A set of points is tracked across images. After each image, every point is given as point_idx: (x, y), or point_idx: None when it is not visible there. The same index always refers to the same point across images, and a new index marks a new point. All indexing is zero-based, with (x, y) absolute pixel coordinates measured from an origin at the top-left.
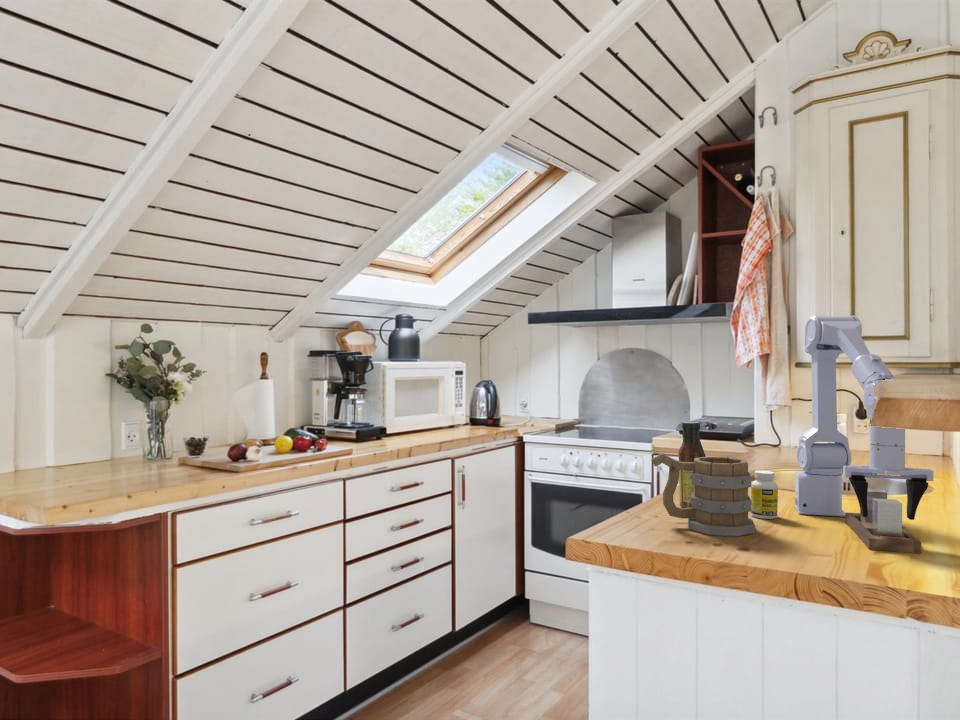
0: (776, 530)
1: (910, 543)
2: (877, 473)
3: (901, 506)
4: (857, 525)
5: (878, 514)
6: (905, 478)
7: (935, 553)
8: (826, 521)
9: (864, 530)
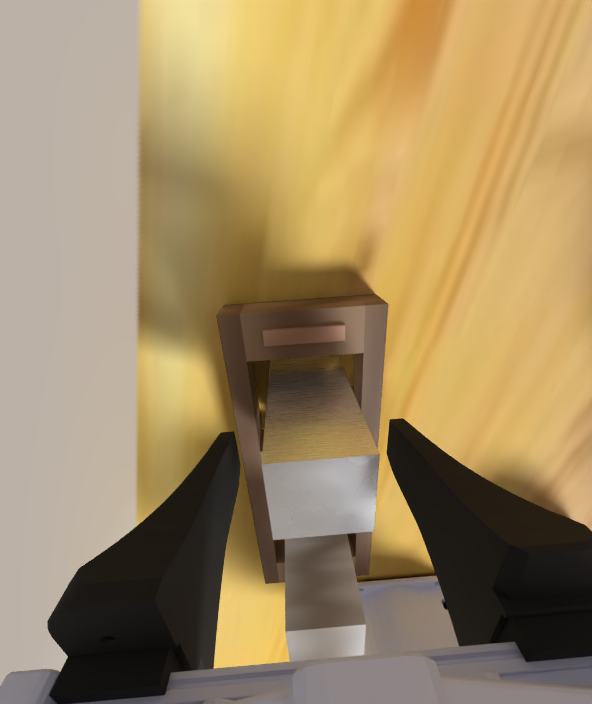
0: (575, 425)
1: (252, 310)
2: (491, 683)
3: (265, 452)
4: None
5: (359, 414)
6: (214, 678)
7: (182, 322)
8: (405, 541)
9: (372, 411)
